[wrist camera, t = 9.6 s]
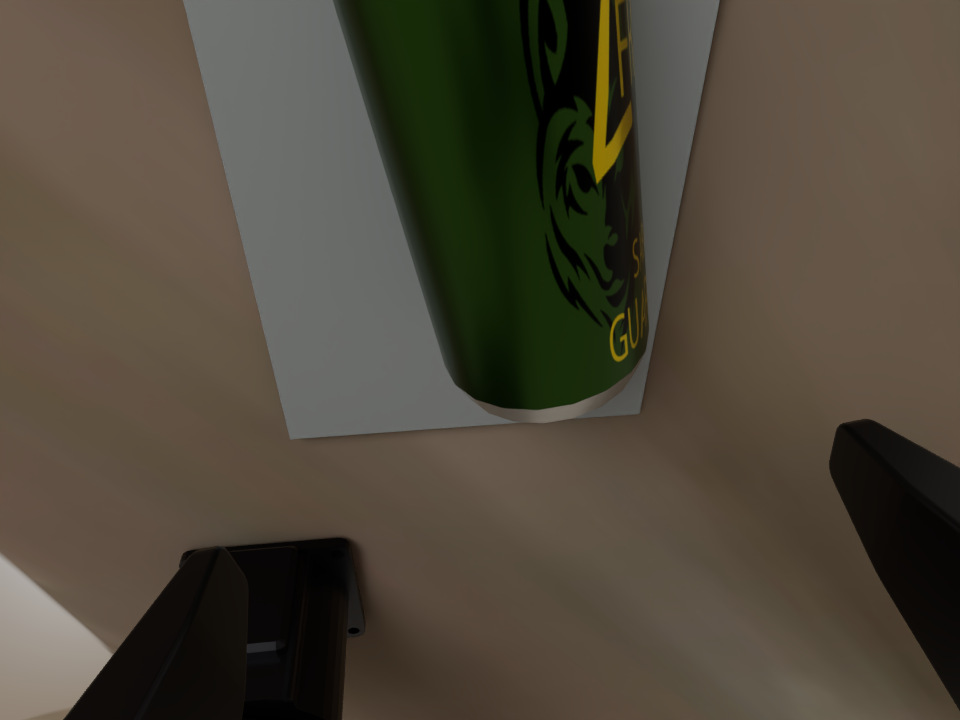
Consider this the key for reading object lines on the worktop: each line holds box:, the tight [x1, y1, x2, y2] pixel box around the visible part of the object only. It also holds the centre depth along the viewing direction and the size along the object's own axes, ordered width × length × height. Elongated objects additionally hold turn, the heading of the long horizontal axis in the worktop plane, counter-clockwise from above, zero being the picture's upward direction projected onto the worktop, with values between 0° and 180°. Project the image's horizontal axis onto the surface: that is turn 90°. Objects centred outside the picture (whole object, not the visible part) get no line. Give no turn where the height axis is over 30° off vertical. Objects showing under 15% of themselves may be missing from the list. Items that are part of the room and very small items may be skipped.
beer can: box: [333, 0, 649, 423], centre depth 14 cm, size 5×5×12 cm
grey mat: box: [183, 0, 720, 439], centre depth 18 cm, size 16×12×1 cm
